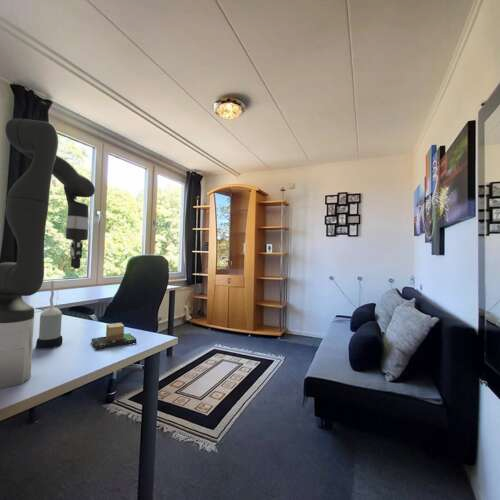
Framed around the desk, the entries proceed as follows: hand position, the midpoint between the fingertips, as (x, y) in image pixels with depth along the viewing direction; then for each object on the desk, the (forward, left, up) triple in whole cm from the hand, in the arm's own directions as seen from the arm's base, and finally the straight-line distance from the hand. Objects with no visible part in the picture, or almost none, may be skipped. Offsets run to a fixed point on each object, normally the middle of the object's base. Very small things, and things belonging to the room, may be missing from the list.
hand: (75, 267), depth 108 cm
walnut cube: (-10, -14, -28) cm, 33 cm away
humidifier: (0, +7, -30) cm, 31 cm away
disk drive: (-10, -14, -31) cm, 36 cm away
